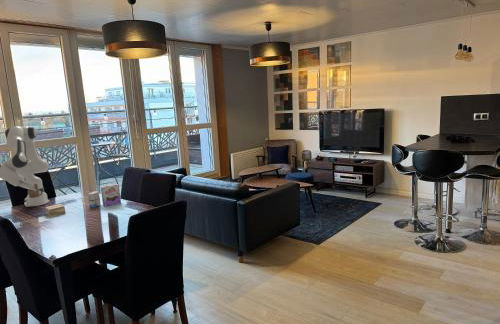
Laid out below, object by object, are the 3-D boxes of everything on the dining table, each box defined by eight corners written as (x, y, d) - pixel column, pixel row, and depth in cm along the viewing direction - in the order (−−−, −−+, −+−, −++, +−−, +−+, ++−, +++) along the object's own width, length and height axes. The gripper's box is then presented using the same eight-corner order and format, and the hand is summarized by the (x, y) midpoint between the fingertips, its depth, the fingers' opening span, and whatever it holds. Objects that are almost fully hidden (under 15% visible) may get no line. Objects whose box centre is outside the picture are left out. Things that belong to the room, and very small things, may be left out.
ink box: (94, 207, 280) (92, 193, 278) (89, 207, 281) (87, 193, 279) (101, 204, 288) (99, 191, 286) (95, 204, 289) (94, 191, 287)
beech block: (46, 214, 270) (45, 207, 269) (61, 210, 277) (60, 203, 276) (50, 217, 262) (48, 209, 261) (65, 213, 269) (64, 206, 268)
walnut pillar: (29, 197, 262) (27, 184, 260) (36, 195, 266) (34, 183, 264) (32, 198, 259) (29, 185, 257) (39, 196, 263) (37, 183, 261)
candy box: (103, 206, 281) (101, 187, 278) (102, 205, 286) (100, 186, 283) (121, 203, 287) (118, 184, 285) (120, 202, 292) (117, 183, 290)
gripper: (25, 177, 248) (42, 187, 257) (15, 175, 260) (31, 185, 269) (19, 185, 245) (36, 195, 254) (9, 182, 257) (26, 192, 267)
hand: (34, 189), depth 262 cm, fingers closed on walnut pillar, 5 cm apart
